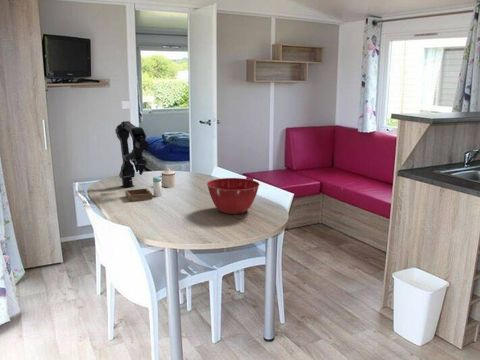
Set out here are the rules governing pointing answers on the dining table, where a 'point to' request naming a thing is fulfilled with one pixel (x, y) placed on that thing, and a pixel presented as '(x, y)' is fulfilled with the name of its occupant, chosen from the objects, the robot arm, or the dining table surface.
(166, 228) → the dining table surface
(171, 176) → the teacup with lid
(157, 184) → the canister
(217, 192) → the mixing bowl
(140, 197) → the brown wooden tray
